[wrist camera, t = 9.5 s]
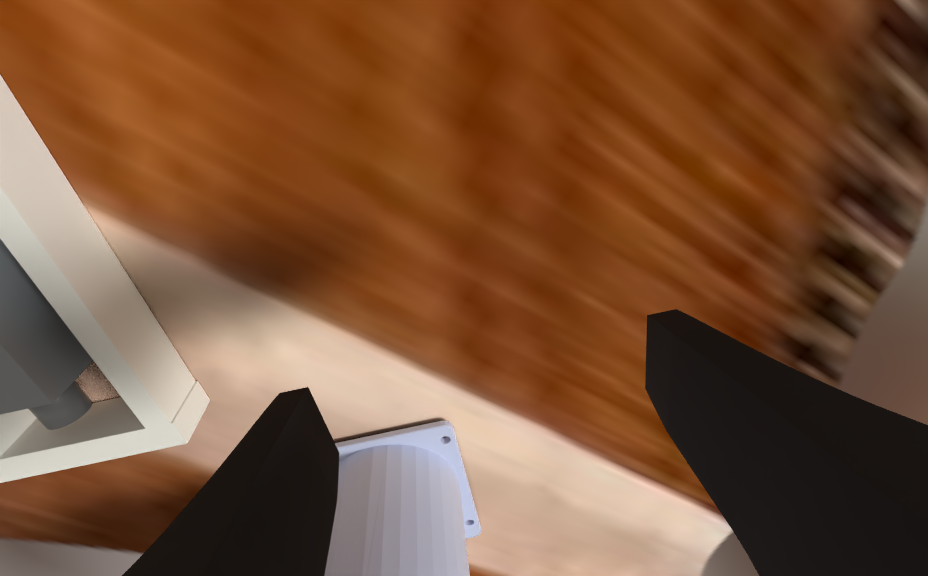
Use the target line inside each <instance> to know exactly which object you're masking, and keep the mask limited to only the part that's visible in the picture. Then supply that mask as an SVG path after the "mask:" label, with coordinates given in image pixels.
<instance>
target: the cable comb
mask: <svg viewBox="0 0 928 576" xmlns="http://www.w3.org/2000/svg"><path fill="white" fill-rule="evenodd" d="M0 239H1V240H2V241H3V243H4V244H5V245H6V247H7V248H8V249H9V251H10V252H11V253H12V255H13V256H14V257H15V258H16V260H17V261H18V262H19V264H20V265H21V266H22V268H23V269H24V270H25V272H26V273H27V274H28V275H29V277H30V278H31V279H32V281H33V282H34V283H35V285H36V286H37V287H38V289H39V290H40V291H41V293H42V294H43V295H44V296H45V298H46V299H47V300H48V302H49V303H50V304H51V306H52V307H53V308H54V310H55V311H56V312H57V313H58V315H59V316H60V317H61V319H62V320H63V321H64V323H65V324H66V325H67V327H68V328H69V329H70V330H71V332H72V333H73V334H74V336H75V337H76V338H77V340H78V341H79V342H80V344H81V345H82V346H83V347H84V349H85V350H86V351H87V353H88V354H89V355H90V357H91V358H92V359H93V361H94V362H95V363H96V364H97V366H98V367H99V368H100V370H101V371H102V372H103V374H104V375H105V376H106V378H107V379H108V380H109V381H110V383H111V384H112V385H113V387H114V388H115V389H116V391H117V392H118V393H119V395H120V396H121V397H119V398H114V399H109V400H105V401H100V402H95V403H92V406H91V408H90V409H89V410H88V412H87V413H85V414H84V415H83V416H82V417H81V418H79V419H78V420H76V421H75V422H73V423H71V424H69V425H67V426H65V427H62V428H59V429H55V430H48V429H46V427H45V426H44V425H43V424H42V423H41V422H40V421H39V420H38V419H37V418H36V417H35V416H34V414H33V413H32V412H31V411H30V410H29V409H24V410H20V411H15V412H10V413H5V414H1V415H0V483H2V482H7V481H12V480H17V479H21V478H26V477H31V476H36V475H40V474H45V473H50V472H54V471H59V470H64V469H69V468H73V467H78V466H83V465H87V464H92V463H97V462H102V461H106V460H111V459H116V458H121V457H125V456H130V455H135V454H139V453H144V452H149V451H154V450H158V449H163V448H168V447H173V446H177V445H182V444H187V443H188V441H189V439H190V437H191V436H192V434H193V432H194V430H195V428H196V426H197V424H198V422H199V420H200V419H201V417H202V415H203V413H204V411H205V409H206V407H207V405H208V404H209V402H210V399H209V398H208V396H207V394H206V393H205V391H204V390H203V388H202V387H201V385H200V383H199V382H198V381H195V380H194V378H193V376H192V375H191V373H190V372H189V370H188V369H187V367H186V365H185V364H184V362H183V361H182V359H181V358H180V356H179V354H178V353H177V351H176V350H175V348H174V347H173V345H172V343H171V342H170V340H169V339H168V337H167V336H166V334H165V332H164V331H163V329H162V328H161V326H160V325H159V323H158V321H157V320H156V318H155V317H154V315H153V314H152V312H151V310H150V309H149V307H148V306H147V304H146V303H145V301H144V299H143V298H142V296H141V295H140V293H139V292H138V290H137V289H136V287H135V285H134V284H133V282H132V281H131V279H130V278H129V276H128V274H127V273H126V271H125V270H124V268H123V267H122V265H121V263H120V262H119V260H118V259H117V257H116V256H115V254H114V252H113V251H112V249H111V248H110V246H109V245H108V243H107V241H106V240H105V238H104V237H103V235H102V234H101V232H100V230H99V229H98V227H97V226H96V224H95V223H94V221H93V219H92V218H91V216H90V215H89V213H88V212H87V210H86V208H85V207H84V205H83V204H82V202H81V201H80V199H79V198H78V196H77V194H76V193H75V191H74V190H73V188H72V187H71V185H70V183H69V182H68V180H67V179H66V177H65V176H64V174H63V172H62V171H61V169H60V168H59V166H58V165H57V163H56V161H55V160H54V158H53V157H52V155H51V154H50V152H49V150H48V149H47V147H46V146H45V144H44V143H43V141H42V139H41V138H40V136H39V135H38V133H37V132H36V130H35V128H34V127H33V125H32V124H31V122H30V121H29V119H28V117H27V116H26V114H25V113H24V111H23V110H22V108H21V106H20V105H19V103H18V102H17V100H16V99H15V97H14V96H13V94H12V92H11V91H10V89H9V88H8V86H7V85H6V83H5V81H4V80H3V78H2V77H1V75H0Z"/></svg>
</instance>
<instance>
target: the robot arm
mask: <svg viewBox="0 0 928 576" xmlns="http://www.w3.org/2000/svg"><path fill="white" fill-rule="evenodd" d="M645 388H646V390H647V393H648V395H649V397H650V399H651V401H652V403H653V405H654V407H655V409H656V411H657V413H658V415H659V417H660V419H661V421H662V423H663V425H664V427H665V429H666V431H667V432H668V434H669V435H670V437H671V438H672V440H673V441H674V443H675V444H676V446H677V448H678V449H679V451H680V452H681V454H682V455H683V457H684V458H685V460H686V461H687V463H688V464H689V466H690V467H691V469H692V470H693V472H694V473H695V475H696V476H697V478H698V479H699V481H700V482H701V484H702V485H703V487H704V488H705V490H706V491H707V493H708V494H709V496H710V497H711V499H712V500H713V501H714V503H715V504H716V506H717V507H718V509H719V510H720V512H721V513H722V515H723V516H724V518H725V519H726V521H727V522H728V524H729V525H730V527H731V528H732V530H733V531H734V533H735V535H736V536H737V538H738V540H739V541H740V543H741V544H742V546H743V548H744V549H745V551H746V553H747V554H748V556H749V558H750V559H751V561H752V563H753V565H754V567H755V569H756V570H757V572H758V574H759V576H928V425H926V424H923V423H920V422H918V421H915V420H913V419H910V418H907V417H905V416H902V415H900V414H897V413H894V412H892V411H889V410H887V409H884V408H882V407H879V406H876V405H874V404H872V403H869V402H867V401H864V400H862V399H860V398H857V397H855V396H852V395H850V394H848V393H846V392H843V391H841V390H839V389H837V388H834V387H832V386H830V385H828V384H825V383H823V382H821V381H819V380H817V379H814V378H812V377H810V376H808V375H806V374H804V373H801V372H799V371H797V370H795V369H793V368H791V367H789V366H787V365H785V364H783V363H781V362H779V361H777V360H774V359H772V358H770V357H768V356H766V355H764V354H763V353H761V352H759V351H757V350H755V349H753V348H751V347H749V346H747V345H745V344H743V343H741V342H739V341H737V340H735V339H733V338H731V337H730V336H728V335H726V334H724V333H722V332H720V331H718V330H716V329H714V328H712V327H710V326H709V325H707V324H705V323H703V322H701V321H699V320H697V319H695V318H693V317H691V316H689V315H687V314H685V313H683V312H681V311H679V310H677V309H675V310H670V311H666V312H661V313H656V314H651V315H647V346H646V385H645ZM444 436H448V437H446V438H443V437H444ZM480 533H481V526H480V522H479V519H478V515H477V511H476V508H475V504H474V500H473V497H472V493H471V490H470V486H469V482H468V479H467V475H466V472H465V468H464V464H463V461H462V457H461V453H460V450H459V446H458V443H457V439H456V435H455V432H454V428H453V425H452V424H451V423H450V422H449V421H438V422H433V423H429V424H424V425H419V426H414V427H410V428H405V429H400V430H395V431H391V432H386V433H381V434H377V435H372V436H367V437H362V438H358V439H353V440H348V441H343V442H339V443H334V441H333V438H332V436H331V434H330V432H329V430H328V428H327V426H326V424H325V422H324V420H323V417H322V415H321V413H320V411H319V409H318V407H317V405H316V403H315V401H314V399H313V396H312V394H311V392H310V390H309V388H308V387H307V388H302V389H297V390H292V391H288V392H283V393H279V394H278V396H277V397H276V398H275V399H274V400H273V401H272V403H271V404H270V405H269V406H268V407H267V409H266V410H265V411H264V412H263V414H262V415H261V416H260V417H259V419H258V420H257V421H256V422H255V424H254V425H253V426H252V427H251V429H250V430H249V431H248V433H247V434H246V435H245V436H244V438H243V439H242V440H241V441H240V443H239V444H238V445H237V446H236V448H235V449H234V450H233V451H232V452H231V454H230V455H229V456H228V457H227V459H226V460H225V461H224V462H223V464H222V465H221V466H220V467H219V468H218V470H217V471H216V472H215V473H214V475H213V476H212V477H211V478H210V480H209V481H208V482H207V483H206V484H205V485H204V487H203V488H202V489H201V490H200V491H199V492H198V493H197V495H196V496H195V497H194V498H193V499H192V500H191V501H190V503H189V504H188V505H187V506H186V507H185V508H184V509H183V511H182V512H181V513H180V514H179V515H178V516H177V517H176V519H175V520H174V521H173V522H172V523H171V524H170V525H169V527H168V528H167V529H166V530H165V531H164V532H163V533H162V535H161V536H160V537H159V538H158V539H157V540H156V541H155V542H154V543H153V544H152V545H151V546H150V547H149V548H148V550H147V551H146V552H145V553H144V554H143V555H142V556H141V557H140V558H139V559H138V560H137V561H136V562H135V563H134V564H133V565H132V566H131V568H129V569H128V570H127V571H126V572H125V573H124V574H123V575H122V576H470V573H469V564H468V555H467V546H466V539H467V538H472V537H476V536H478V535H479V534H480Z"/></svg>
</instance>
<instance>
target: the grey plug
mask: <svg viewBox="0 0 928 576" xmlns="http://www.w3.org/2000/svg"><path fill="white" fill-rule="evenodd" d="M92 361H93V359H92V358H91V357H90V355H89V354H88V353H87V351H86V350H85V349H84V347H83V346H82V345H81V344H80V342H79V341H78V340H77V338H76V337H75V336H74V334H73V333H72V332H71V330H70V329H69V328H68V327H67V325H66V324H65V323H64V321H63V320H62V319H61V317H60V316H59V315H58V313H57V312H56V311H55V310H54V308H53V307H52V306H51V304H50V303H49V302H48V300H47V299H46V298H45V296H44V295H43V294H42V293H41V291H40V290H39V289H38V287H37V286H36V285H35V283H34V282H33V281H32V279H31V278H30V277H29V275H28V274H27V273H26V272H25V270H24V269H23V268H22V266H21V265H20V264H19V262H18V261H17V260H16V258H15V257H14V256H13V255H12V253H11V252H10V251H9V249H8V248H7V247H6V245H5V244H4V243H3V241H2V240H1V239H0V415H1V414H5V413H10V412H15V411H20V410H24V409H29V410H30V411H31V412H32V413H33V414H34V416H35V417H36V418H37V419H38V420H39V421H40V422H41V423H42V424H43V425H44V426H45V427H46V429H48V430H55V429H59V428H62V427H65V426H67V425H69V424H71V423H73V422H75V421H76V420H78V419H79V418H81V417H82V416H83V415H84V414H85V413H87V412H88V410H89V409H90V408H91V406H92V401H91V400H90V399H89V397H88V396H87V395H86V394H85V392H84V391H83V390H82V389H81V388H80V386H79V385H78V384H77V383H76V381H75V379H76V378H77V377H78V376H79V375H80V374H81V373H82V372H83V371H84V370H85V369H86V368H87V367H88V366H89V365H90V364H91V363H92Z"/></svg>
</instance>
